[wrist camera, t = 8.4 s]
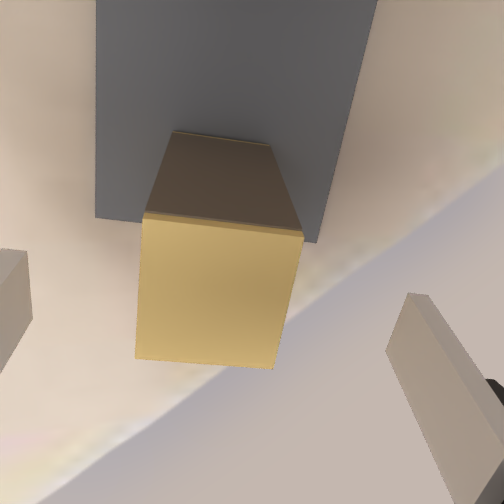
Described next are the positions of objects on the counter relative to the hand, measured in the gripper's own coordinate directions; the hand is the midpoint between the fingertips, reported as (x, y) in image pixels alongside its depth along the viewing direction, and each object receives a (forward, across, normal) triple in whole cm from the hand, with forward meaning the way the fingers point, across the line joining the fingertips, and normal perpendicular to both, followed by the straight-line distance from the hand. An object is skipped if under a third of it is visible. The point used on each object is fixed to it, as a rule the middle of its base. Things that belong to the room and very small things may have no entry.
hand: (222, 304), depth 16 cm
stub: (+13, 0, -1) cm, 13 cm away
